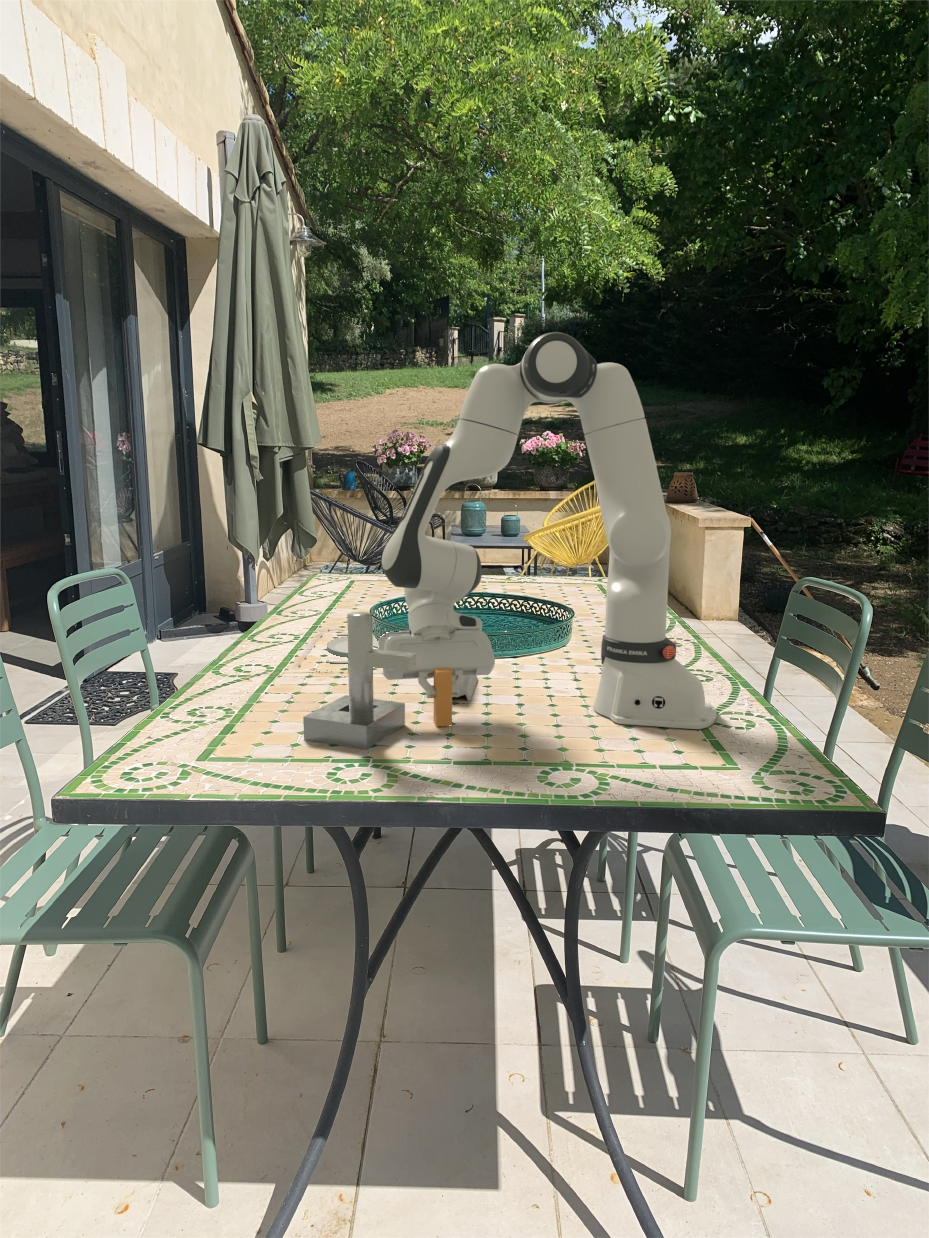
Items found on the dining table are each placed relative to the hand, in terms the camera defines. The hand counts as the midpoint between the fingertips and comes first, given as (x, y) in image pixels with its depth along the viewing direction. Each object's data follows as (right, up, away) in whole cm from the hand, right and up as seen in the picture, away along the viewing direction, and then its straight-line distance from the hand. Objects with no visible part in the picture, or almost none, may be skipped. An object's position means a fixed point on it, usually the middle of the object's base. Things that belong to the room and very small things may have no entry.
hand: (443, 696), depth 159 cm
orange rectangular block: (0, -5, +2) cm, 5 cm away
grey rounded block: (+2, -1, +24) cm, 24 cm away
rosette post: (-12, -6, -4) cm, 14 cm away
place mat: (-19, +5, +56) cm, 60 cm away
